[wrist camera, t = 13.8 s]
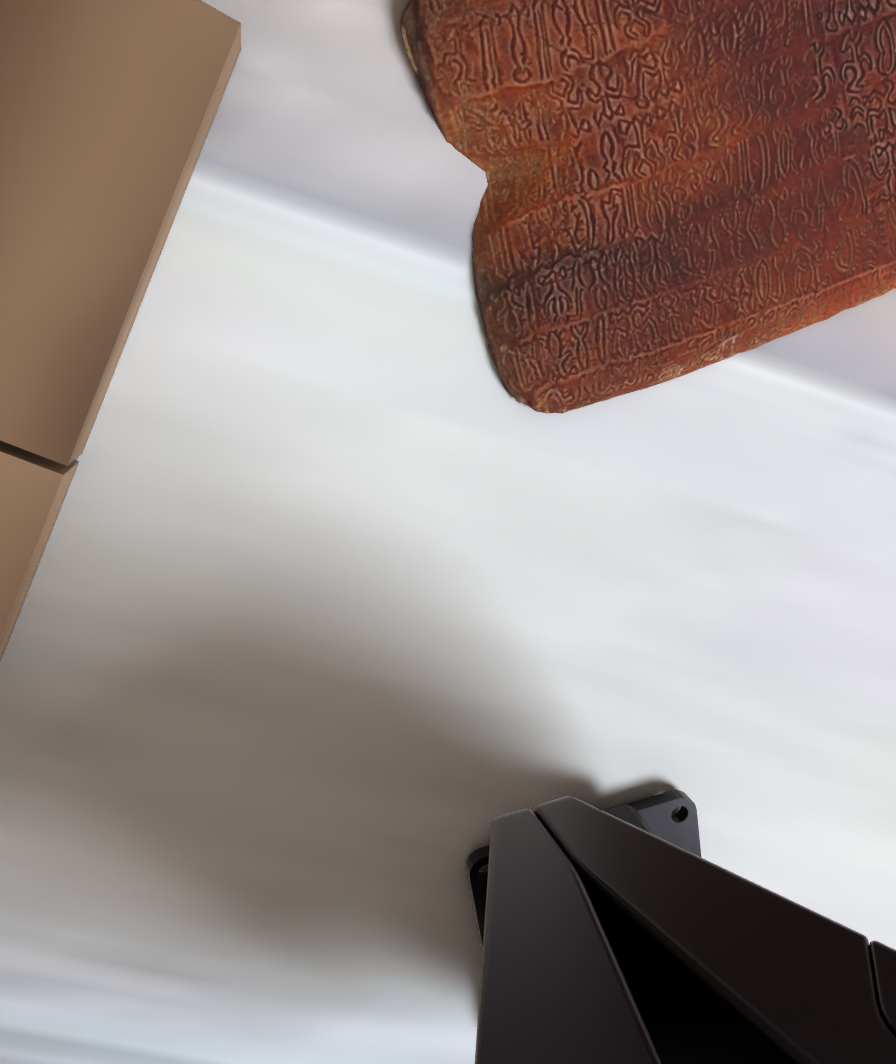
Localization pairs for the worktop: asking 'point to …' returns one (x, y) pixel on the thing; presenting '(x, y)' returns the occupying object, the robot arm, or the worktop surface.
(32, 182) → the weathered wooden board
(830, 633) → the worktop surface
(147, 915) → the worktop surface
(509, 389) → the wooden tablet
